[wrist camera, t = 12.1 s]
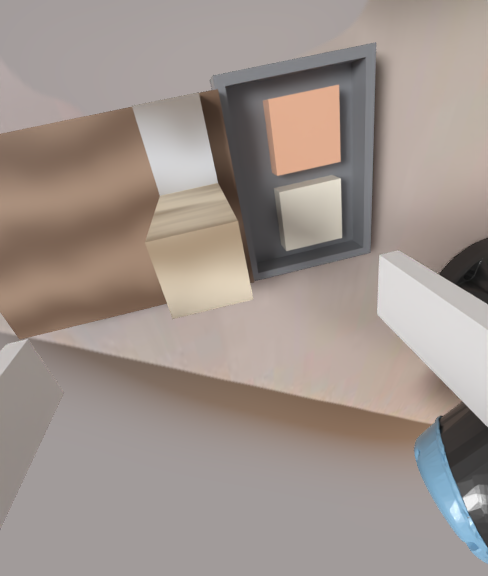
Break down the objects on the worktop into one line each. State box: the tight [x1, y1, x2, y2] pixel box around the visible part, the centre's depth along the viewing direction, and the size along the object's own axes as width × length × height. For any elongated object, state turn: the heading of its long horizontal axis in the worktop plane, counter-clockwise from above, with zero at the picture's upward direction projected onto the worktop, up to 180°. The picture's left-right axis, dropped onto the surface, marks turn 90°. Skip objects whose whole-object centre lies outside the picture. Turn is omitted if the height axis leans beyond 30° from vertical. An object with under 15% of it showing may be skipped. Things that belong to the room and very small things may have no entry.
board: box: [0, 89, 254, 339], centre depth 27 cm, size 16×22×5 cm
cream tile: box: [274, 175, 342, 251], centre depth 31 cm, size 6×6×2 cm
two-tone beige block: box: [132, 93, 253, 319], centre depth 21 cm, size 16×4×12 cm, turn 10°
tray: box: [210, 43, 376, 281], centre depth 29 cm, size 18×13×3 cm
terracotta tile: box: [263, 85, 341, 176], centre depth 27 cm, size 6×6×2 cm
